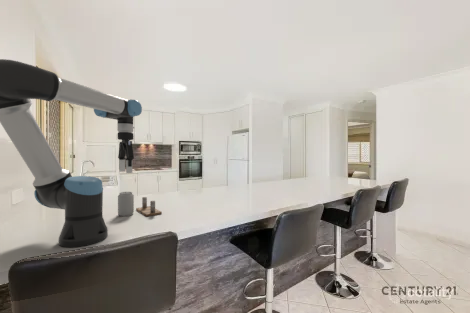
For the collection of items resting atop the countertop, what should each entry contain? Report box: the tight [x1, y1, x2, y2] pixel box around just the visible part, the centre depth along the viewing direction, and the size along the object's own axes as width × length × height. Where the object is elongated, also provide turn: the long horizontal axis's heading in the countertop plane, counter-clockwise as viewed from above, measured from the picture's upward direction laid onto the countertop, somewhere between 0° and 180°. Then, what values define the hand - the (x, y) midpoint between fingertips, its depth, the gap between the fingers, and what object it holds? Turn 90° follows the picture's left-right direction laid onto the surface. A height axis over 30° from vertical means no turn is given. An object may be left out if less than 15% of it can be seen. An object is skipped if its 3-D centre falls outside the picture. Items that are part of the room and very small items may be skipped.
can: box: [117, 191, 135, 217], centre depth 115 cm, size 8×8×12 cm
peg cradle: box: [135, 196, 162, 218], centre depth 120 cm, size 17×8×7 cm, turn 41°
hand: (125, 172), depth 115 cm, fingers open, 13 cm apart
